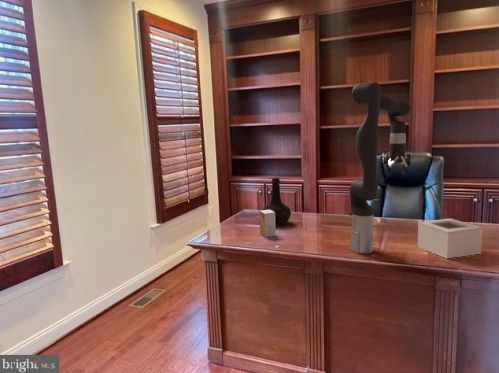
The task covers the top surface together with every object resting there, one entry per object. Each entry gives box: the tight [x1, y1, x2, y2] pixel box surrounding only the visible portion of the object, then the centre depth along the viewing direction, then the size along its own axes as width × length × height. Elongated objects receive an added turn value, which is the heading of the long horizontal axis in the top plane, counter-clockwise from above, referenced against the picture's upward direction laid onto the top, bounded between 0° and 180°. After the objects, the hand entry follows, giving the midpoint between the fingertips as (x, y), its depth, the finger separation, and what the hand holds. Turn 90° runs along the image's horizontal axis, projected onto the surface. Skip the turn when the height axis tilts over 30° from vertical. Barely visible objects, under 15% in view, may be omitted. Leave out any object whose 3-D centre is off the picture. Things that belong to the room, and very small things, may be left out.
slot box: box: [417, 217, 484, 259], centre depth 171 cm, size 18×18×12 cm
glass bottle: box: [261, 177, 292, 227], centre depth 228 cm, size 18×18×28 cm
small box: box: [259, 209, 277, 238], centre depth 207 cm, size 8×6×13 cm
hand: (396, 174), depth 192 cm, fingers open, 8 cm apart
